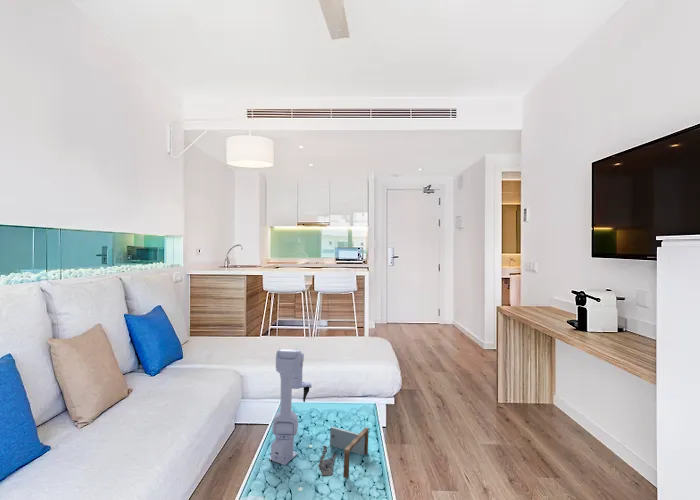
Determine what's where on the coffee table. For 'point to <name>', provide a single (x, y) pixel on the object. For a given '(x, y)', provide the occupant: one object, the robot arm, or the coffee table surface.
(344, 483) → the coffee table surface
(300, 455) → the coffee table surface
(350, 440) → the door
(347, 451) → the door frame
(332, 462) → the driftwood
